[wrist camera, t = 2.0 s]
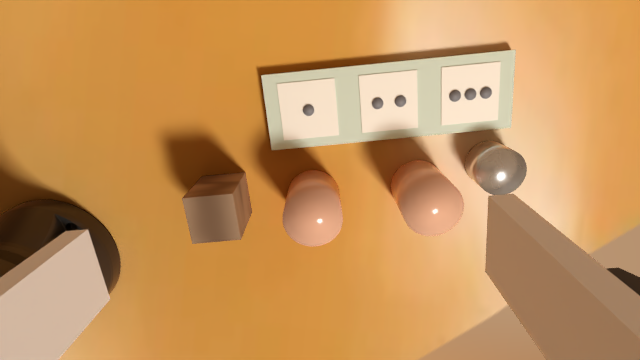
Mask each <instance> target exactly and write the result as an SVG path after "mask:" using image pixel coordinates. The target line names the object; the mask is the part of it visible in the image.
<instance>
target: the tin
mask: <svg viewBox="0 0 640 360" xmlns="http://www.w3.org/2000/svg"><path fill="white" fill-rule="evenodd" d="M465 170H466V172H467V174H468V176H469V177H470V178H471V179H472V180H473V181H475V182H476V183H477V184H478V185H479V186H480V187H481V188H483V189H484V190H485V191H486V192H488V193H490V194H493V195H505V194H508V193H511V192H512V191H514V190H516V189H517V188H518V187H519V186H520V185H521V183H522V182H523V180H524V178H525V176H526V171H527V167H526V162H525V160H524V158H523V157H522V156H521V155H520V154H519V153H517V152H516V151H514V150H512V149H510V148H508V147H506V146H504V145H502V144H501V143H499V142H496V141H484V142H481V143H479V144H477V145H475V146H474V147H473V148H472V149H471V150H470V151H469V153H468V155H467V157H466V160H465Z"/></svg>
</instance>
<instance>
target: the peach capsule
mask: <svg viewBox="0 0 640 360" xmlns="http://www.w3.org/2000/svg"><path fill="white" fill-rule="evenodd" d="M342 222H343V216H342V209H341V201H340V194H339V188H338V185H337V183H336V182H335V180H334V179H333V178H332V177H331V176H330V175H328V174H327V173H325V172H322V171H318V170H309V171H305V172H302V173H300V174H299V175H297V176H296V177H295V178H294V179H293V180H292V182H291V184H290V186H289V189H288V194H287V199H286V203H285V208H284V212H283V225H284V228H285V230H286V232H287V234H288V235H289V236H290V237H291V238H292V239H293V240H294V241H296V242H297V243H300V244H302V245H305V246H320V245H324V244H326V243H328V242H330V241H331V240H333V239H334V238H335V237H336V236H337V234H338V233H339V231H340V229H341V227H342Z"/></svg>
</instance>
